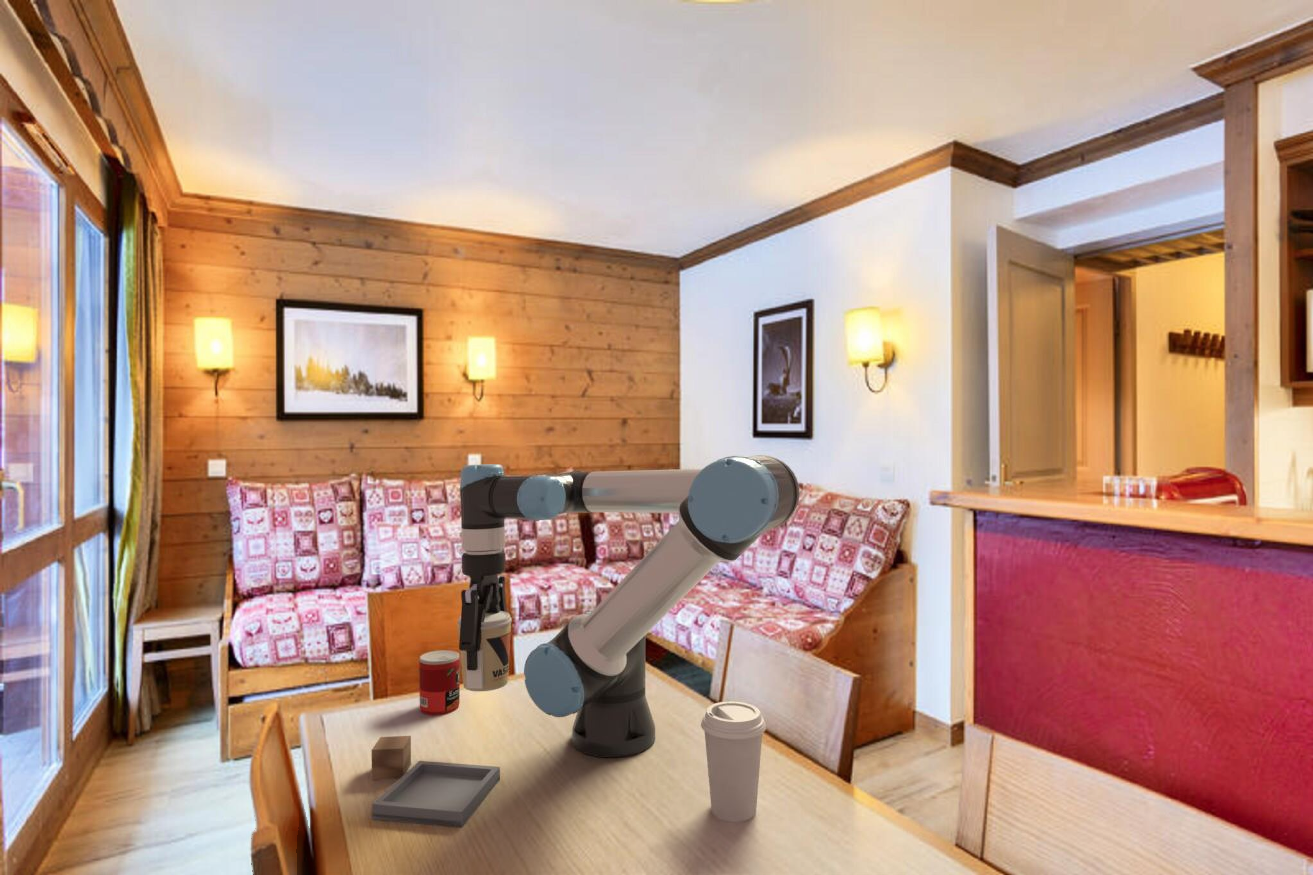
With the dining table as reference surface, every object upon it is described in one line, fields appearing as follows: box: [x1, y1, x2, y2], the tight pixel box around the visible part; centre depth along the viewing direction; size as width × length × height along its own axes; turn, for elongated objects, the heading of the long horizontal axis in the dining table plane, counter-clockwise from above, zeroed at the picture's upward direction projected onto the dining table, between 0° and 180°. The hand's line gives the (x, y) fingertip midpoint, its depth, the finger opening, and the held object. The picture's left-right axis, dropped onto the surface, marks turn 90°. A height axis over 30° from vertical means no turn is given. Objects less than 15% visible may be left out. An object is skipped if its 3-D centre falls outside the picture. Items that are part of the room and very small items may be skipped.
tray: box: [371, 760, 501, 828], centre depth 109 cm, size 14×14×2 cm
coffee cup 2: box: [700, 700, 767, 823], centre depth 104 cm, size 10×10×15 cm
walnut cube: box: [371, 735, 412, 781], centre depth 118 cm, size 5×5×5 cm
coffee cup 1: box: [457, 611, 513, 692], centre depth 125 cm, size 9×9×12 cm
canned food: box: [418, 650, 461, 716], centre depth 145 cm, size 8×8×11 cm
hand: (485, 678), depth 125 cm, fingers closed on coffee cup 1, 9 cm apart
